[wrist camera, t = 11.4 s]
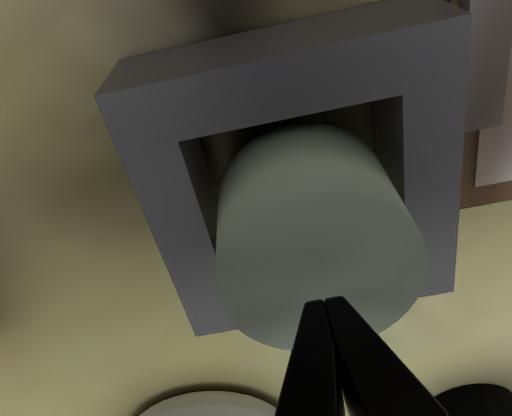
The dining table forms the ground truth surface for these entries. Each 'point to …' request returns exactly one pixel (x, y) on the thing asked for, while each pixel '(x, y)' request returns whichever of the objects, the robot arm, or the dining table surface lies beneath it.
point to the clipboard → (488, 105)
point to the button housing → (289, 106)
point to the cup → (477, 400)
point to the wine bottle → (211, 405)
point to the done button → (312, 233)
